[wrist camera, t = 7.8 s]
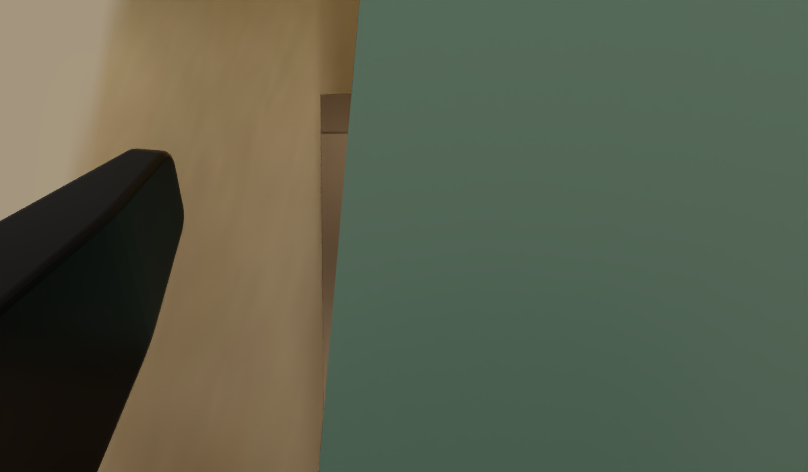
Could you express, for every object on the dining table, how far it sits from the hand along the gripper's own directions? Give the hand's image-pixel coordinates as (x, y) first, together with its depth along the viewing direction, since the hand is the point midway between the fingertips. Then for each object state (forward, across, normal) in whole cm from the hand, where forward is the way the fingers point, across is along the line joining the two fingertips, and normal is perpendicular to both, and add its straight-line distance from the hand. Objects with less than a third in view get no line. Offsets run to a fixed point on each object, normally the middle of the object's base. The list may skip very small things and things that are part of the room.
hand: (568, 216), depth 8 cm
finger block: (+5, 0, +6) cm, 8 cm away
